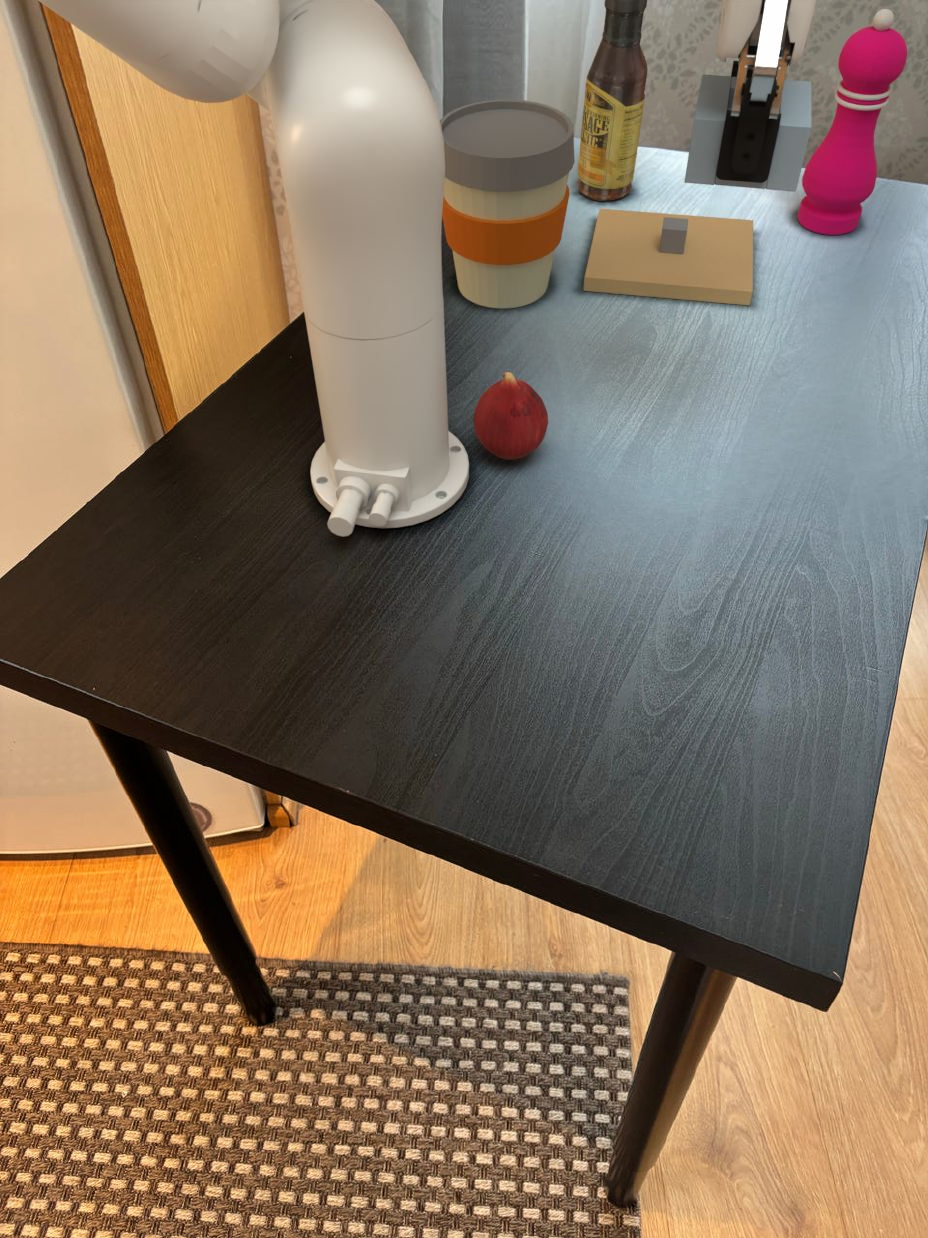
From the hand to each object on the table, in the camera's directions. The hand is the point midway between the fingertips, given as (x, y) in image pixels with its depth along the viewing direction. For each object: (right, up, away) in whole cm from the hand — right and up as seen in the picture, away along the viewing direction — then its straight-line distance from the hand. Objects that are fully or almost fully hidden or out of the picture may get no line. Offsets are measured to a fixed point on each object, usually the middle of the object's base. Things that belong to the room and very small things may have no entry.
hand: (744, 149), depth 63 cm
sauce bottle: (-3, +17, +45) cm, 48 cm away
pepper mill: (+20, +12, +40) cm, 46 cm away
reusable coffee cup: (-15, +2, +33) cm, 36 cm away
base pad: (+3, +6, +35) cm, 35 cm away
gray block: (0, -1, +1) cm, 1 cm away
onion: (-15, -18, +16) cm, 28 cm away
